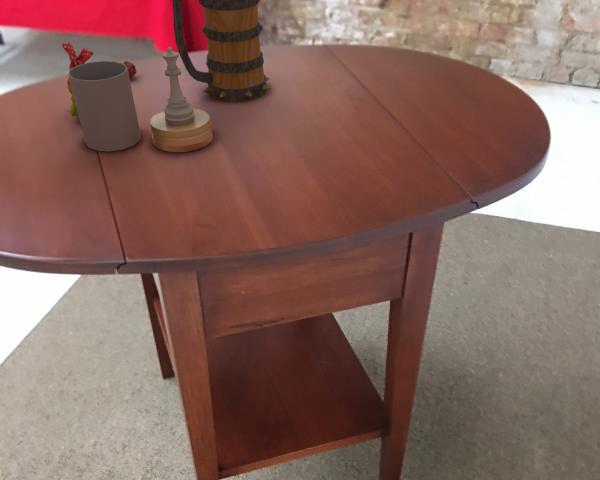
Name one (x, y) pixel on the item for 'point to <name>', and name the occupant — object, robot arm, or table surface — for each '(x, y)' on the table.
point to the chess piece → (176, 94)
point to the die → (130, 68)
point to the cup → (105, 105)
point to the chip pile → (181, 133)
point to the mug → (227, 49)
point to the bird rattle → (73, 63)
